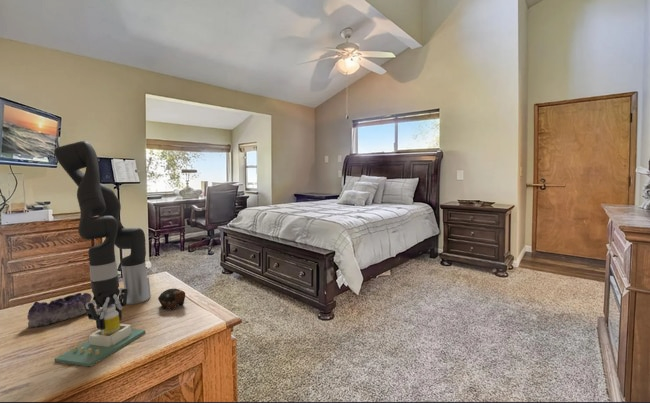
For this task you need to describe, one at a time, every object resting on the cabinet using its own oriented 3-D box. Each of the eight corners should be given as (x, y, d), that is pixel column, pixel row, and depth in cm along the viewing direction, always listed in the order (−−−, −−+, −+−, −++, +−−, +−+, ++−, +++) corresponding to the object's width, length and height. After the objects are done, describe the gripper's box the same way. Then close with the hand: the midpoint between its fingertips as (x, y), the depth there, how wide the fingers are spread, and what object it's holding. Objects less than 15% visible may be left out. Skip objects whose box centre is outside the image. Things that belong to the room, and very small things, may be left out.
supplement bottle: (124, 331, 107) (121, 304, 107) (109, 339, 102) (105, 311, 102) (113, 329, 109) (110, 302, 108) (97, 337, 104) (94, 309, 103)
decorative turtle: (178, 313, 126) (175, 294, 125) (151, 312, 131) (147, 294, 130) (195, 302, 135) (192, 285, 134) (169, 301, 140) (166, 284, 139)
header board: (114, 329, 115) (113, 319, 114) (145, 332, 111) (144, 322, 110) (55, 361, 95) (53, 349, 95) (89, 367, 92) (88, 354, 91)
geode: (32, 333, 115) (26, 307, 115) (26, 329, 122) (20, 304, 122) (97, 310, 131) (92, 287, 131) (88, 308, 138) (83, 286, 138)
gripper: (115, 269, 112) (120, 314, 113) (73, 283, 98) (80, 334, 100) (132, 269, 110) (136, 316, 111) (91, 284, 96) (98, 336, 98)
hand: (110, 324), depth 106 cm, fingers closed on supplement bottle, 5 cm apart
